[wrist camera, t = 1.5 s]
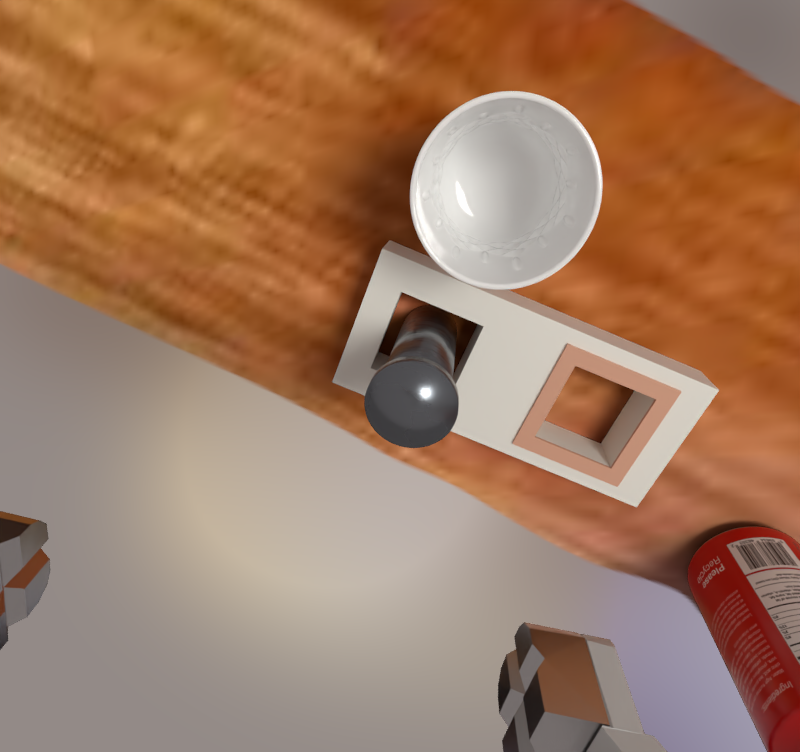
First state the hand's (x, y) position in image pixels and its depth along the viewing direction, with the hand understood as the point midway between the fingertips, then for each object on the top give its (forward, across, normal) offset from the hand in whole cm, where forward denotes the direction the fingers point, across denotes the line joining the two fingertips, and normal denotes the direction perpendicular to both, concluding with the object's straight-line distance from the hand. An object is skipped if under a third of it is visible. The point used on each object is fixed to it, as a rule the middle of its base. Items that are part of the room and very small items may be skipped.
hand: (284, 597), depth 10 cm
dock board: (+27, +9, -6) cm, 29 cm away
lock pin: (+27, +3, -5) cm, 28 cm away
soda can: (+25, +29, -16) cm, 42 cm away
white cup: (+28, +5, +5) cm, 29 cm away
